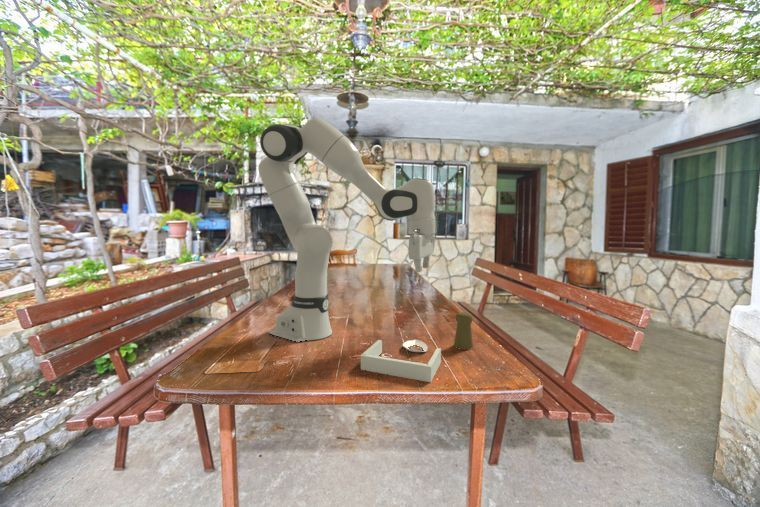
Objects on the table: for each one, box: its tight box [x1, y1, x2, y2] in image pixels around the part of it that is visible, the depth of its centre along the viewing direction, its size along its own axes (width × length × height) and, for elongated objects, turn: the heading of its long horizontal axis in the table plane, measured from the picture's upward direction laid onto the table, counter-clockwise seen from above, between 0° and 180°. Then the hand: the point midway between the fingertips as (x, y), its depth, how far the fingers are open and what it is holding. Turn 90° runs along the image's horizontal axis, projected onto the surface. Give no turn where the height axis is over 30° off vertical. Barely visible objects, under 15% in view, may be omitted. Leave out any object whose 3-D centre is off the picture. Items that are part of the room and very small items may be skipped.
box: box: [360, 339, 442, 383], centre depth 90 cm, size 19×13×4 cm
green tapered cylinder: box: [453, 311, 474, 350], centre depth 104 cm, size 6×6×11 cm
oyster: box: [402, 338, 429, 353], centre depth 102 cm, size 8×12×2 cm, turn 171°
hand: (422, 269), depth 109 cm, fingers open, 8 cm apart
